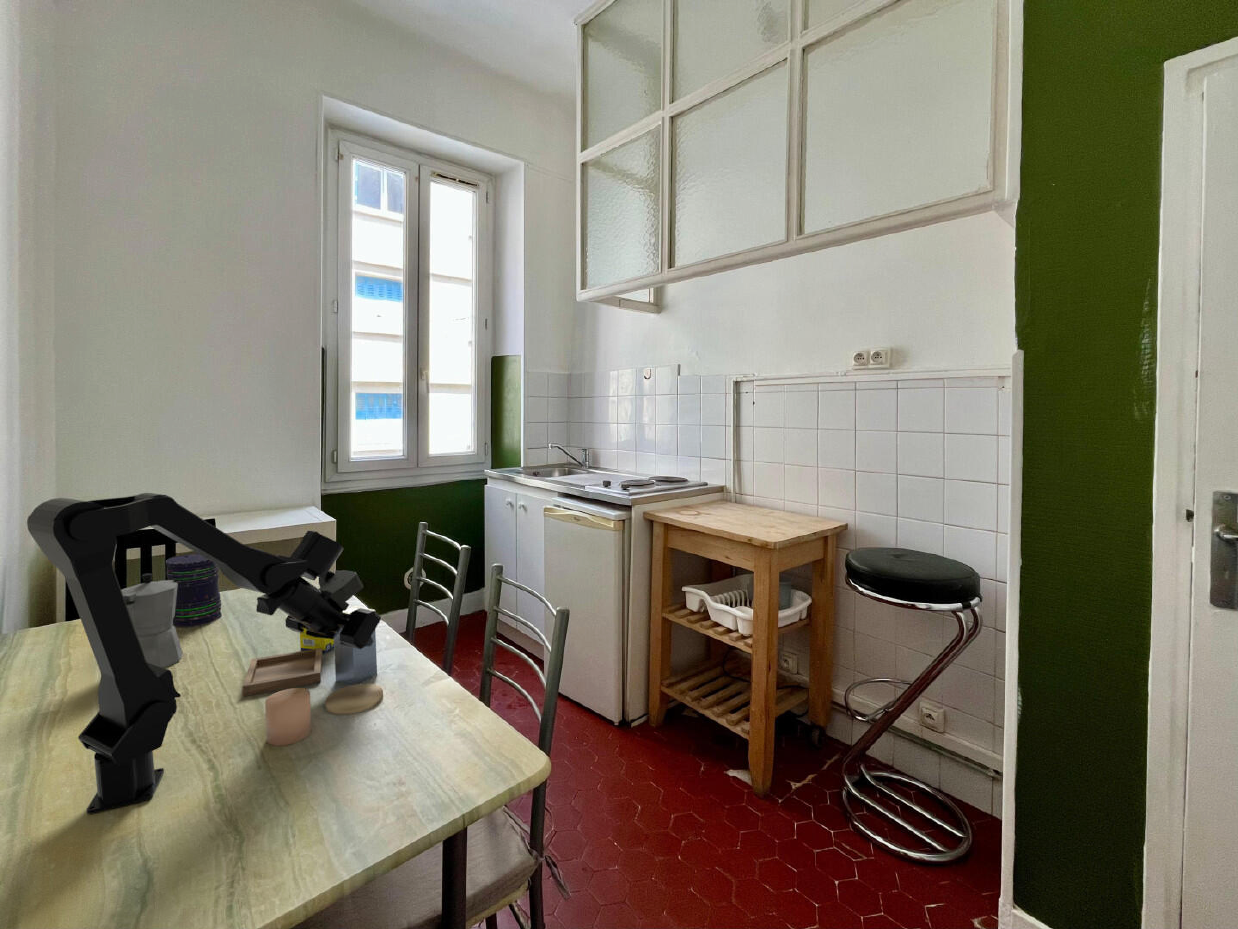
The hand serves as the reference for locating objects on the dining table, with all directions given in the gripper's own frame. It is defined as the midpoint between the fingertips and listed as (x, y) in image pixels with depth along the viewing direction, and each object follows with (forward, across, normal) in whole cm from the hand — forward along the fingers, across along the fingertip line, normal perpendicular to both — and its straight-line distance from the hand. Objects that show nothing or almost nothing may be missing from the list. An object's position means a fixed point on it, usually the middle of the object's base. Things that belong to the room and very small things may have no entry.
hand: (361, 641), depth 108 cm
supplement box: (+8, +18, +1) cm, 20 cm away
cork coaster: (0, -7, +10) cm, 12 cm away
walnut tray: (0, +13, +9) cm, 16 cm away
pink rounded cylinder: (-9, -6, +18) cm, 21 cm away
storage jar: (+6, +58, +3) cm, 59 cm away
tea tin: (+4, 0, +6) cm, 7 cm away
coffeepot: (-6, +40, +16) cm, 44 cm away
